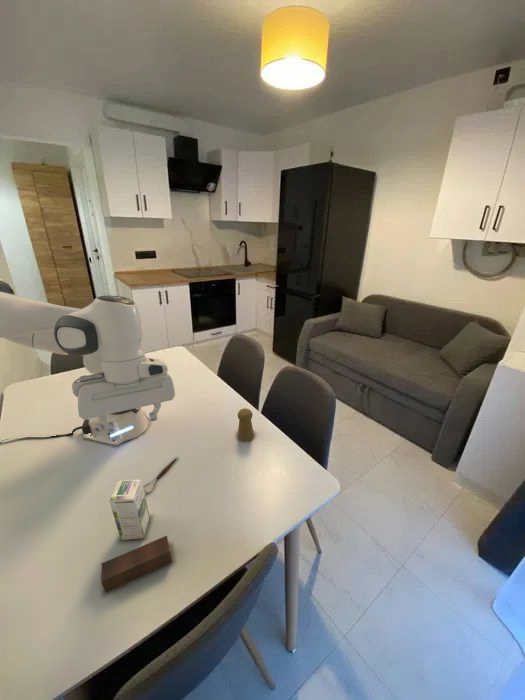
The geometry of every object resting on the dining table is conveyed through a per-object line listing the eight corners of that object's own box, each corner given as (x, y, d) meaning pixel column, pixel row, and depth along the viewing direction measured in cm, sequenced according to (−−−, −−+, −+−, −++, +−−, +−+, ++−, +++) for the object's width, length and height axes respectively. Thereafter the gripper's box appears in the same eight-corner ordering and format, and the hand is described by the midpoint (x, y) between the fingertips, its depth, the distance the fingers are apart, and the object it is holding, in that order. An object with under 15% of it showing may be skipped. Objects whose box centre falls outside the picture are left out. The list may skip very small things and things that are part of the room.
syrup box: (128, 519, 77) (116, 479, 71) (151, 517, 77) (141, 478, 71) (120, 540, 72) (107, 500, 66) (144, 538, 72) (134, 498, 66)
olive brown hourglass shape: (251, 442, 103) (251, 417, 99) (235, 439, 104) (234, 415, 100) (255, 431, 109) (255, 407, 104) (239, 428, 110) (239, 405, 105)
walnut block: (105, 592, 62) (100, 581, 60) (105, 573, 65) (101, 563, 64) (172, 561, 67) (169, 551, 66) (169, 545, 71) (166, 535, 69)
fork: (179, 461, 96) (178, 456, 95) (143, 500, 82) (142, 495, 82) (173, 458, 97) (172, 454, 96) (136, 496, 83) (135, 491, 83)
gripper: (69, 382, 57) (81, 444, 60) (174, 364, 67) (179, 419, 71) (70, 373, 62) (81, 432, 65) (167, 359, 73) (172, 410, 76)
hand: (132, 425), depth 68 cm, fingers open, 8 cm apart
